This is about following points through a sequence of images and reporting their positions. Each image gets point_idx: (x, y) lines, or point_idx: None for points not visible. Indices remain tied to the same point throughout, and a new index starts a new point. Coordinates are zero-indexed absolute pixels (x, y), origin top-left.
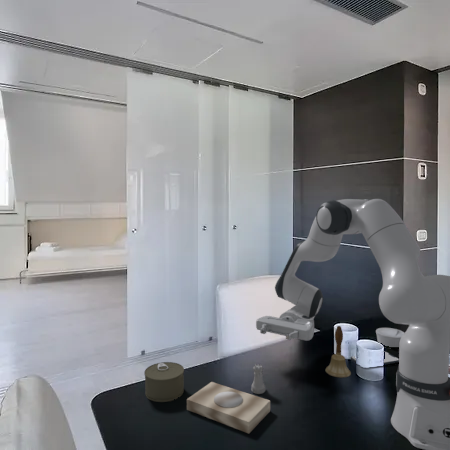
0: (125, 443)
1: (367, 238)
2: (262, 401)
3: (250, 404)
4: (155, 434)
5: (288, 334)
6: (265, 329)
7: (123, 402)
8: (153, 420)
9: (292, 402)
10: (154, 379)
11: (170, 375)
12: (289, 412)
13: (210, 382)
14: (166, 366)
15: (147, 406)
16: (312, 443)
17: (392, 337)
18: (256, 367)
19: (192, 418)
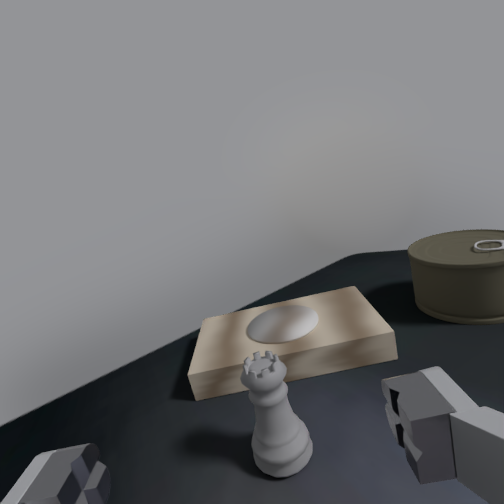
0: (341, 260)
1: None
2: (205, 361)
3: (227, 342)
4: (331, 275)
5: (58, 453)
6: (399, 411)
7: None
8: (366, 277)
9: (138, 477)
10: (426, 237)
11: (433, 253)
12: (142, 428)
13: (391, 328)
14: (496, 248)
15: None
16: (87, 386)
17: None
18: (259, 352)
19: None
